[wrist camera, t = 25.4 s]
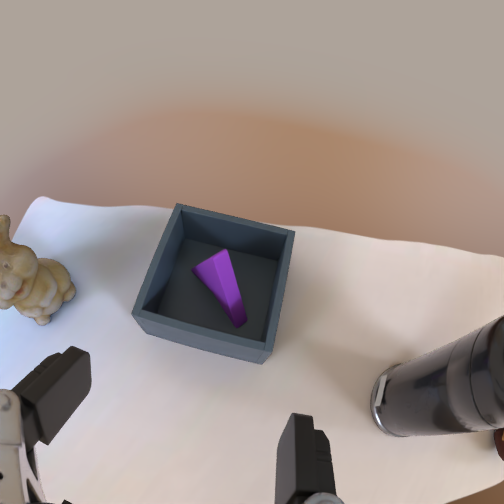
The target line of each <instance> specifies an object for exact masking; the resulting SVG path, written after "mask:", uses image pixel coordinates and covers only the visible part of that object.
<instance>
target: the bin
mask: <svg viewBox="0 0 504 504" xmlns="http://www.w3.org/2000/svg"><path fill="white" fill-rule="evenodd" d="M294 236H295V231H292V230H288V229H284V228H280V227H276V226H272V225H267V224H263V223H259V222H255V221H251V220H247V219H243V218H238V217H234V216H230V215H225V214H221V213H217V212H213V211H209V210H204V209H199V208H195V207H191V206H187V205H183V204H178V203H177V204H176V206H175V208H174V210H173V212H172V215H171V217H170V219H169V221H168V224H167V226H166V228H165V231H164V233H163V235H162V238H161V240H160V242H159V245H158V247H157V250H156V252H155V254H154V257H153V259H152V262H151V264H150V267H149V269H148V272H147V274H146V277H145V279H144V282H143V284H142V287H141V290H140V292H139V295H138V297H137V300H136V303H135V305H134V308H133V311H132V314H131V315H132V316H133V317H134V319H135V320H136V321H137V323H138V324H139V325H140V326H141V328H142V329H143V330H144V331H145V333H147V334H150V335H153V336H156V337H160V338H163V339H166V340H169V341H173V342H176V343H180V344H183V345H187V346H190V347H194V348H197V349H201V350H205V351H208V352H212V353H216V354H220V355H224V356H228V357H232V358H236V359H240V360H244V361H248V362H253V363H257V364H263V363H264V361H265V360H266V359H267V358H268V357H269V355H270V354H271V353H272V351H273V346H274V341H275V336H276V331H277V326H278V321H279V316H280V311H281V306H282V301H283V296H284V291H285V285H286V280H287V275H288V269H289V264H290V258H291V253H292V247H293V242H294ZM224 249H226V250H227V251H228V254H229V258H230V261H231V264H232V268H233V271H234V275H235V278H236V282H237V285H238V289H239V292H240V295H241V299H242V302H243V306H244V309H245V313H246V316H247V322H245V323H244V324H243V325H241V326H240V327H238V328H235V326H234V325H233V323H232V322H231V320H230V319H229V317H228V316H227V314H226V313H225V311H224V310H223V308H222V306H221V305H220V303H219V302H218V300H217V299H216V297H215V296H214V294H213V292H212V291H211V290H210V289H209V288H208V287H207V286H206V285H205V284H204V283H203V282H202V281H201V280H200V279H199V278H198V277H197V276H196V275H195V274H194V273H193V272H192V270H191V269H192V268H194V267H195V266H197V265H198V264H200V263H202V262H203V261H205V260H206V259H208V258H210V257H212V256H213V255H215V254H217V253H218V252H220V251H222V250H224Z"/></svg>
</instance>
